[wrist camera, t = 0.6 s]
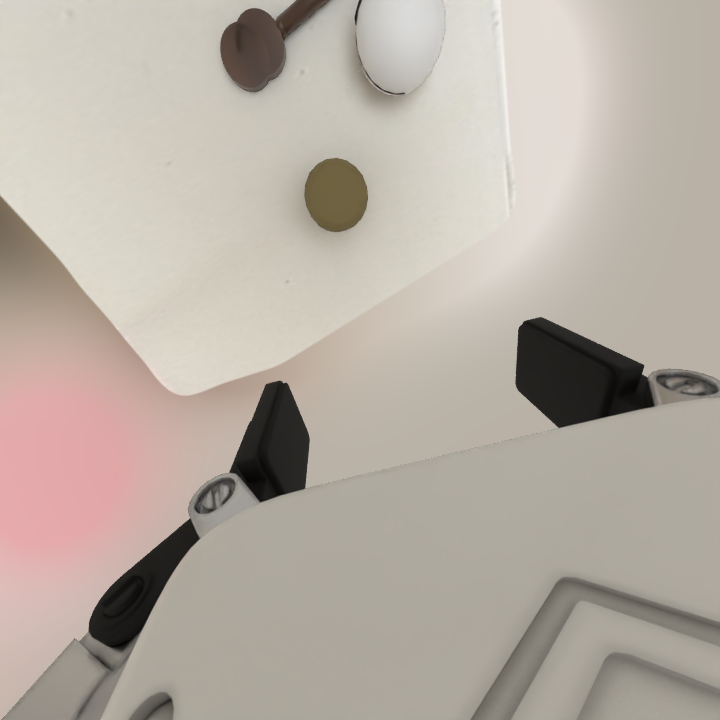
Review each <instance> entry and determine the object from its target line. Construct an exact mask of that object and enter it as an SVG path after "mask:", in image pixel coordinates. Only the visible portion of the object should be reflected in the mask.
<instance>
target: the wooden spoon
mask: <svg viewBox="0 0 720 720" xmlns="http://www.w3.org/2000/svg"><path fill="white" fill-rule="evenodd" d="M327 1H328V0H296V1H295V2H294V3H293V4H292V5H291V6H289V7H288V8H287V9H286V10H285V11H284V12H283V13H282V14H280V15H279V16H278V17H277V18H276V21H275V20H274V19H273V18H272V17H271V16H270V15H269V14H268V13H267V12H265V11H263V10H261V9H256V8H252V9H248V10H246V11H245V12H243V13H242V14H241V15H240V17H239V19H238V21H237V22H235V23H232V24H231V25H229V26H228V27H227V28H226V30H225V31H224V33H223V35H222V39H221V46H220V48H221V57H222V61H223V64H224V66H225V68H226V70H227V72H228V74H229V75H230V76H231V78H232V79H233V81H234V82H235V83H236V84H237V85H238V86H239V87H241V88H242V89H244V90H247V91H251V92H255V91H259V90H261V89H263V88H264V87H265V86H266V85H267V83H268V81H269V80H272V79H274V78H276V77H277V76H278V75H279V74H280V73H281V71H282V69H283V67H284V63H285V58H286V51H285V44H284V40H283V37H286V36H287V35H289V34H290V33H291V32H292V31H293V30H294V29H295V28H297V27H298V26H299V25H300V24H301V23H302V22H304V21H305V20H306V19H307V18H308V17H309V16H310V15H312V14H313V13H314V12H315V11H316V10H317V9H319V8H320V7H321V6H322V5H323V4H324V3H325V2H327Z"/></svg>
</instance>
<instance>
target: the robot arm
mask: <svg viewBox="0 0 720 720" xmlns="http://www.w3.org/2000/svg"><path fill="white" fill-rule="evenodd" d="M643 368H644V365H643V364H641V363H638V362H636V361H634V360H632V359H630V358H628V357H626V356H623V355H621V354H619V353H617V352H615V351H613V350H611V349H609V348H606V347H604V346H602V345H600V344H597V343H596V342H594V341H591V340H589V339H587V338H585V337H583V336H581V335H579V334H576V333H574V332H572V331H570V330H568V329H566V328H563V327H561V326H559V325H557V324H555V323H553V322H551V321H549V320H546V319H544V318H542V317H539V318H535V319H531V320H527V321H524V322H523V324H522V325H521V326H520V327H519V330H518V347H517V365H516V387H517V389H518V391H519V392H520V393H521V394H523V395H524V396H525V397H526V398H527V399H528V400H529V401H530V402H531V403H532V404H533V405H534V406H536V407H537V408H538V409H539V410H540V411H541V412H542V413H543V414H544V415H545V416H546V417H548V418H549V419H550V420H551V421H552V422H553V423H554V424H555V425H556V426H557V427H558V428H557V429H553V430H548V431H544V432H540V433H536V434H532V435H527V436H523V437H519V438H515V439H510V440H506V441H502V442H497V443H493V444H489V445H485V446H480V447H476V448H472V449H468V450H463V451H459V452H455V453H451V454H447V455H442V456H438V457H434V458H430V459H425V460H421V461H417V462H413V463H409V464H404V465H400V466H396V467H392V468H388V469H383V470H380V471H375V472H371V473H367V474H363V475H359V476H355V477H351V478H347V479H342V480H338V481H334V482H330V483H325V484H321V485H317V486H314V487H310V488H306V489H305V484H306V473H307V463H308V452H309V442H310V439H309V434H308V431H307V428H306V426H305V424H304V421H303V419H302V416H301V414H300V412H299V410H298V407H297V405H296V402H295V400H294V397H293V395H292V393H291V390H290V388H289V385H288V384H287V383H283V382H282V381H277V382H272V383H269V384H266V385H265V388H264V391H263V393H262V396H261V398H260V401H259V403H258V406H257V408H256V411H255V413H254V416H253V418H252V421H250V423H249V425H248V427H247V430H246V432H245V435H244V437H243V440H242V442H241V445H240V447H239V450H238V452H237V455H236V457H235V460H234V462H233V465H232V467H231V470H230V472H229V473H225V474H221V475H218V476H216V477H214V478H212V479H211V480H209V481H207V482H206V483H205V484H204V485H203V486H201V487H200V488H199V489H198V491H197V492H196V493H195V494H194V496H193V497H192V499H191V501H190V503H189V507H188V513H189V516H190V519H189V520H188V521H187V522H185V523H184V524H183V525H182V526H181V527H179V528H178V529H177V530H176V531H175V532H173V533H172V534H171V535H170V536H169V537H168V538H166V539H165V540H164V541H163V542H161V543H160V544H159V545H158V546H157V547H156V548H154V549H153V550H152V551H151V552H150V553H149V554H147V555H146V556H145V557H144V558H143V559H142V560H140V561H139V562H138V563H137V564H135V565H134V566H133V567H132V568H131V569H130V570H128V571H127V572H126V573H125V574H124V575H122V576H121V577H120V578H119V579H118V580H117V581H116V582H115V583H114V584H113V585H112V586H111V587H110V588H109V589H108V590H107V591H106V593H105V594H104V595H103V597H102V598H101V599H100V601H99V602H98V604H97V606H96V607H95V609H94V611H93V613H92V616H91V618H90V621H89V631H88V633H87V634H86V635H85V636H84V637H83V638H82V639H81V640H80V641H78V640H77V639H74V640H73V641H72V642H71V643H70V644H69V645H68V646H67V647H66V648H65V650H64V651H63V652H62V653H61V654H60V655H59V656H58V657H57V659H56V660H55V661H54V662H53V663H52V664H51V665H50V666H49V667H48V669H47V670H46V671H45V672H44V673H43V674H42V675H41V676H40V677H39V679H38V680H37V681H36V682H35V683H34V684H33V685H32V686H31V687H30V689H29V690H28V691H27V692H26V693H25V694H24V695H23V697H21V699H20V700H19V701H18V702H17V703H16V704H15V705H14V706H13V707H12V709H11V710H10V711H9V712H8V713H7V714H6V715H5V716H4V717H3V719H2V720H720V381H719V380H718V379H716V378H714V377H711V376H708V375H706V374H702V373H699V372H695V371H688V370H682V369H662V370H657V371H654V372H652V373H651V374H650V375H649V377H648V378H647V377H646V376H644V375H642V372H643Z"/></svg>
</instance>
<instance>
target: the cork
mask: <svg viewBox="0 0 720 720" xmlns="http://www.w3.org/2000/svg"><path fill="white" fill-rule="evenodd" d="M305 200H306V206H307V208H308V210H309V212H310V214H311V216H312V218H313V219H314V220H315V221H316V222H317V224H318V225H319V226H321V227H322V228H324V229H326V230H328V231H333V232H339V231H344V230H347V229H349V228H351V227H353V226H355V225H356V224H357V223H358V221H359V220H360V219H361V218H362V216H363V214H364V212H365V210H366V206H367V200H368V194H367V186H366V183H365V181H364V178H363V176H362V174H361V173H360V172H359V170H358V169H357V168H356V167H355V166H354V165H352V164H351V163H349V162H348V161H346V160H342V159H338V158H333V159H326V160H324V161H322V162H321V163H319V164H317V165H316V166H315V167H314V169H313V170H312V171H311V172H310V174H309V176H308V179H307V181H306V184H305Z"/></svg>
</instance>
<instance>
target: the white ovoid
mask: <svg viewBox="0 0 720 720" xmlns="http://www.w3.org/2000/svg"><path fill="white" fill-rule="evenodd" d="M445 15H446V11H445V6H444V1H443V0H359V3H358V6H357V9H356V14H355V24H356V44H357V51H358V57H359V60H360V63H361V66H362V69H363V72H364V74H365V75H366V77H367V78H368V80H369V81H370V83H371V84H372V85H373V86H374V87H375V88H377V89H378V90H379V91H380V92H382V93H385V94H388V95H391V96H398V95H405V94H407V93H409V92H410V91H412V90H414V89H415V88H417V87H418V86H420V85H421V84H422V83H423V82H424V80H425V79H426V78H427V77H428V76H429V75H430V74H431V72H432V69H433V67H434V65H435V63H436V61H437V59H438V57H439V54H440V51H441V48H442V43H443V39H444V34H445ZM359 71H360V70H359ZM357 74H358V73H357ZM355 77H356V76H355ZM350 86H351V85H350ZM348 89H349V88H348ZM346 92H347V91H346Z"/></svg>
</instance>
